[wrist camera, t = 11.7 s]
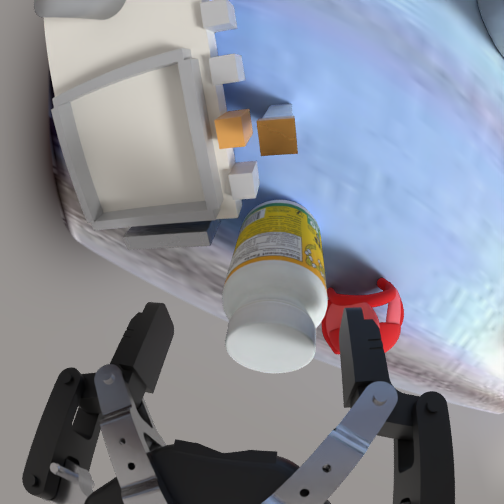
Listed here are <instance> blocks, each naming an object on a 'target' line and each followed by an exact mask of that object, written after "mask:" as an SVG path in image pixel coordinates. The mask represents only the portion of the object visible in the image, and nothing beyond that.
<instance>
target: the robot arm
mask: <svg viewBox="0 0 504 504" xmlns="http://www.w3.org/2000/svg"><path fill="white" fill-rule="evenodd" d="M477 1H478V7H479V10H480V13H481V16H482V19H483V21H484V24H485V26H486V28H487V30H488V33H489V35H490V36H491V38H492V40H493V42H494V44H495V46H496V47H497V49H498V50H499V51H500V53H501V54H502V56H503V57H504V0H477ZM173 335H174V326H173V323H172V320H171V318H170V316H169V313H168V311H167V308H166V306H165V304H163V303H153V302H148V303H147V304H146V306H145V308H144V310H143V312H142V313H140V312H139V313H137V314H136V315H135V316H134V317H133V318H132V319H131V321H130V323H129V325H128V327H127V330H126V331H125V333H124V335H123V338H122V339H121V342H120V343H119V345H118V348H117V350H116V352H115V354H114V356H113V358H112V361H111V363H110V364H107V365H104V366H102V367H101V368H100V369H99V370H98V371H97V372H96V373H89V374H81V373H80V372H79V371H78V370H77V369H75V368H67V369H65V370H63V371H62V372H61V373H60V375H59V376H58V379H57V381H56V383H55V385H54V388H53V390H52V392H51V395H50V397H49V400H48V402H47V405H46V407H45V410H44V412H43V415H42V418H41V420H40V423H39V426H38V428H37V431H36V434H35V438H34V440H33V443H32V446H31V449H30V452H29V456H28V459H27V462H26V465H25V469H24V473H23V478H22V479H23V485H24V487H25V489H26V490H27V491H28V492H29V493H30V494H32V495H34V496H37V497H40V498H42V499H44V500H46V501H49V502H52V503H55V504H331V503H330V502H329V501H328V500H327V499H328V498H329V497H330V496H331V495H332V494H333V492H334V491H335V490H336V489H337V488H338V487H339V486H340V484H341V483H342V482H343V481H344V480H345V478H346V477H347V476H348V475H349V473H350V472H351V471H352V470H353V468H354V467H355V466H356V464H357V463H358V462H359V461H360V459H361V458H362V457H363V455H364V454H365V452H366V451H367V449H368V447H369V445H370V444H371V442H372V441H373V439H374V438H375V436H376V435H379V436H384V437H388V438H394V491H393V492H394V493H393V504H455V478H454V460H453V459H454V458H453V446H452V436H451V428H450V420H449V413H448V407H447V402H446V400H445V398H444V397H443V396H442V395H441V394H439V393H437V392H433V391H430V392H426V393H424V394H422V395H421V396H420V397H419V396H414V395H409V394H404V393H401V392H399V391H398V390H396V389H395V388H394V387H393V385H392V384H391V382H390V379H389V374H388V368H387V363H386V358H385V353H384V349H383V343H382V340H381V339H382V338H381V333H380V329H379V327H378V326H377V324H376V323H375V322H374V320H373V319H364V316H363V311H362V308H361V307H353V308H344V310H343V315H342V320H341V325H340V331H339V347H340V358H341V370H342V384H343V399H344V408H346V407H351V409H350V411H349V412H348V413H347V415H346V416H345V417H344V418H343V420H342V421H341V422H340V424H339V425H338V426H337V427H336V428H335V429H334V430H333V431H332V432H331V433H330V434H329V435H328V436H327V438H326V439H325V440H324V441H323V442H322V443H321V444H320V446H319V447H318V448H317V449H316V450H315V451H314V453H313V454H312V455H311V456H310V457H309V458H308V459H307V460H306V461H305V462H304V463H303V464H302V466H301V467H299V466H298V465H296V464H295V463H293V462H291V461H290V460H288V459H285V458H283V457H279V456H277V452H273V451H257V450H248V451H241V452H232V453H221V452H218V451H216V450H213V449H211V448H208V447H205V446H203V445H201V444H198V443H192V442H186V441H181V440H175V443H174V444H172V445H166V444H165V442H164V441H163V439H162V437H161V436H160V435H159V433H158V431H157V429H156V427H155V425H154V423H153V420H152V418H151V415H150V413H149V411H148V408H147V405H146V403H145V400H144V398H143V396H144V393H145V392H148V393H153V392H154V389H155V386H156V384H157V381H158V378H159V374H160V372H161V369H162V366H163V363H164V360H165V358H166V355H167V352H168V349H169V346H170V343H171V341H172V338H173ZM78 406H79V408H78V411H77V414H76V417H75V420H74V423H73V425H72V421H73V419H74V415H75V413H76V410H77V407H78ZM100 430H101V431H102V435H103V438H104V441H105V444H106V448H107V450H108V454H109V457H110V460H111V462H112V466H113V468H114V471H115V474H116V476H117V477H115V478H114V479H113V480H111V481H110V482H108V483H106V484H105V485H103V486H102V487H100V488H99V489H97V490H96V491H94V492H93V490H92V488H93V487H94V481H93V480H92V477H91V475H90V473H89V469H90V465H91V461H92V458H93V454H94V450H95V447H96V443H97V440H98V436H99V433H100Z"/></svg>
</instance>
